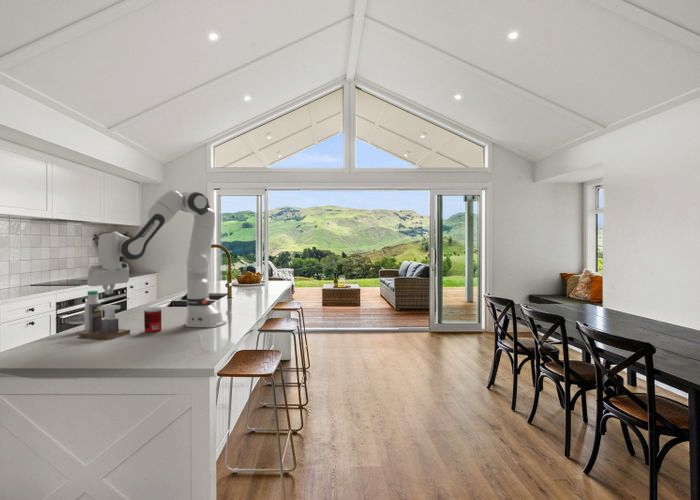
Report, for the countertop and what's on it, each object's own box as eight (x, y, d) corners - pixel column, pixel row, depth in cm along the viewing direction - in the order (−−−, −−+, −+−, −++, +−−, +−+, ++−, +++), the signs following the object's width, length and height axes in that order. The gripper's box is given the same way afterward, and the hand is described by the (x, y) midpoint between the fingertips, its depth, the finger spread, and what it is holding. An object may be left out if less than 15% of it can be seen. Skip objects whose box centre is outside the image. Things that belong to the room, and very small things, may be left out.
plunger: (120, 321, 207) (120, 305, 207) (109, 324, 201) (108, 307, 201) (103, 320, 211) (103, 304, 210) (91, 322, 205) (91, 306, 204)
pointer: (103, 309, 208) (103, 308, 208) (97, 310, 205) (97, 309, 205) (100, 309, 209) (100, 308, 209) (94, 310, 206) (94, 309, 206)
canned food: (164, 329, 219) (164, 308, 219) (155, 333, 211) (155, 311, 211) (150, 329, 220) (150, 308, 219) (141, 332, 212) (140, 310, 211)
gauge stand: (130, 333, 209) (129, 303, 209) (106, 340, 197) (106, 307, 197) (102, 331, 216) (102, 301, 215) (78, 336, 203) (78, 305, 203)
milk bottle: (96, 331, 215) (95, 292, 214) (81, 331, 215) (80, 292, 214) (105, 328, 222) (104, 290, 222) (90, 328, 222) (90, 290, 222)
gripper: (93, 266, 193) (94, 296, 194) (131, 264, 212) (131, 291, 213) (83, 266, 195) (83, 296, 196) (121, 263, 215) (121, 291, 215)
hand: (108, 293), depth 204 cm, fingers closed
